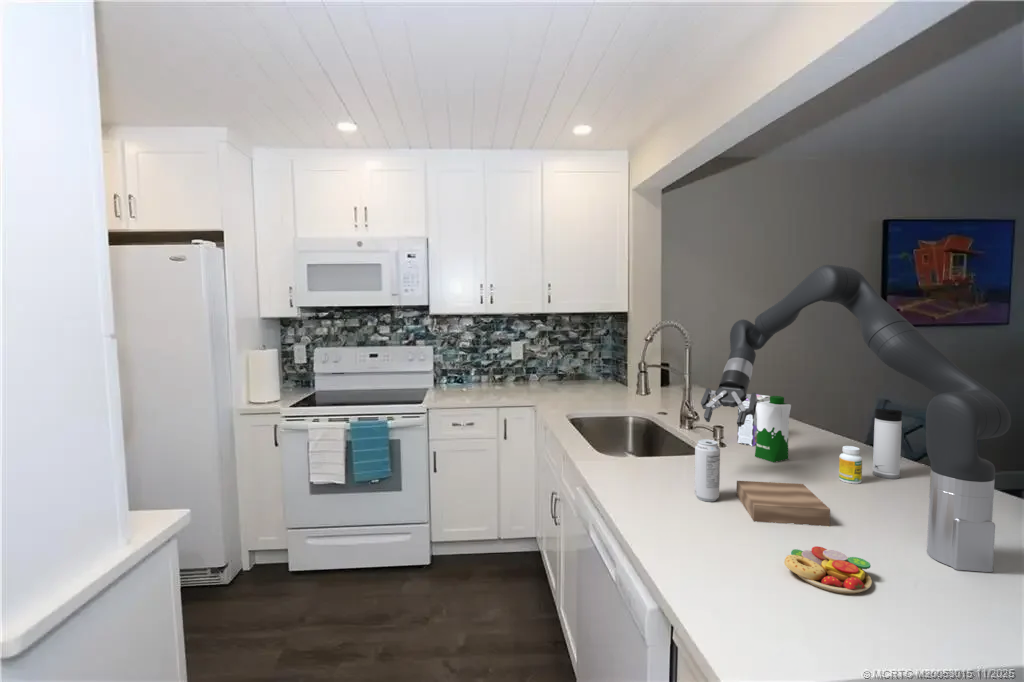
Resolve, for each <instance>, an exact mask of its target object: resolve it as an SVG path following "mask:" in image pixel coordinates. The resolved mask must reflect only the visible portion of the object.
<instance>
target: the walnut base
mask: <svg viewBox="0 0 1024 682" xmlns="http://www.w3.org/2000/svg"><path fill="white" fill-rule="evenodd" d="M735 493H736V495H735V496H736V498H738V500H739V502H740V503H741V504H742V506H743V508H744V509H745V511H746V512H747V514H748V515H749V517H750V518H751V519H752V522H755V521H757V523H771V522H773V523H775V522H776V523H775V524H787V523H794V524H793V525H803V524H809V525H808V526H819V525H821V526H822V527H830V521H831V508H829V507H828V506H827V505H826V504H825V503H824V502H823V501H822V500H821V499H820V498H819V497H818V496H816V495H815V494H814V493H813V492H812V491H811V490H810V489H809V488H808V487H807V486H806V485H804V483H793V482H791V483H790V482H775V481H774V482H773V481H772V482H771V481H754V480H753V481H752V480H736V492H735Z"/></svg>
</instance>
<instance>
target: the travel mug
mask: <svg viewBox="0 0 1024 682" xmlns="http://www.w3.org/2000/svg"><path fill="white" fill-rule="evenodd" d="M874 414H875V415H874V423H873V424H874V426H873V427H874V428H873V429H874V430H873V449H872V453H873V454H872V455H873V458H872V474H873V476H876V477H878V478H881V477H882V479H888V480H889V479H890V480H895V479H896V480H898V479H899V478H900V470H901V452H902V449H901V448H902V425H903V424H902V421H903V418H902V417H903V411H902V410H900V409H891V408H890V409H883V408H874Z"/></svg>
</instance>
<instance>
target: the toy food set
mask: <svg viewBox="0 0 1024 682" xmlns="http://www.w3.org/2000/svg"><path fill="white" fill-rule="evenodd" d="M783 563H784V566H785V567H786V568H787V569H789V571H790V572H792V573H794V574H796V575H797V576H798V577H799V578H800V579H801V580H802V581H804V582H806V583H808V584H810V585H812V586H813V587H816V588H818V587H819V589H821V590H824V591H828V592H831V593H838V594H849V595H851V594H859V593H861V592H865V591H867V590H869V588H870V587H871V586H872V584H873V579H872V578H871V576H870V575H869V574H868V573H867V572H866V571H865V570H868V569H870V568H871V567H872V566H871V563H870V561H867V560H866V559H864V558H860V557H856V556H850V557H848V556H847V554H846V553H844V552H841V551H838V550H835V549H827V548H824V547H822V546H812V548H811V550H809V549H808V550H807V549H805V550H801V549H798V548H797V549H795V548H793V549H792V550H791V551H790V554H789V555H786V557H785V558H784V562H783Z"/></svg>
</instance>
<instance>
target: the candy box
mask: <svg viewBox="0 0 1024 682" xmlns="http://www.w3.org/2000/svg"><path fill="white" fill-rule="evenodd" d="M756 395H757V399H758V400H757V403H760V402H766V401H770V396H771V395H764V394H758V393H756ZM742 403H743V405H744V407H745V408H749V404H750V402H749V400H748V399H746V400H745V401H744V402H742ZM739 412H741V411H740V410H739V408H738V407H737V417H738V416H739ZM736 437H737V439H736V440H737V441H736V442H737V444H739V443H742V444H741V445H744V444H746V445H745V446H748V445H751V446H750V447H755V446H756V441H757V413H756V411H755V415H751V414H750V415H747V416H746V419H745V423H744V425H741V427H739V426H738V425H737V436H736ZM754 445H755V446H754Z"/></svg>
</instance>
